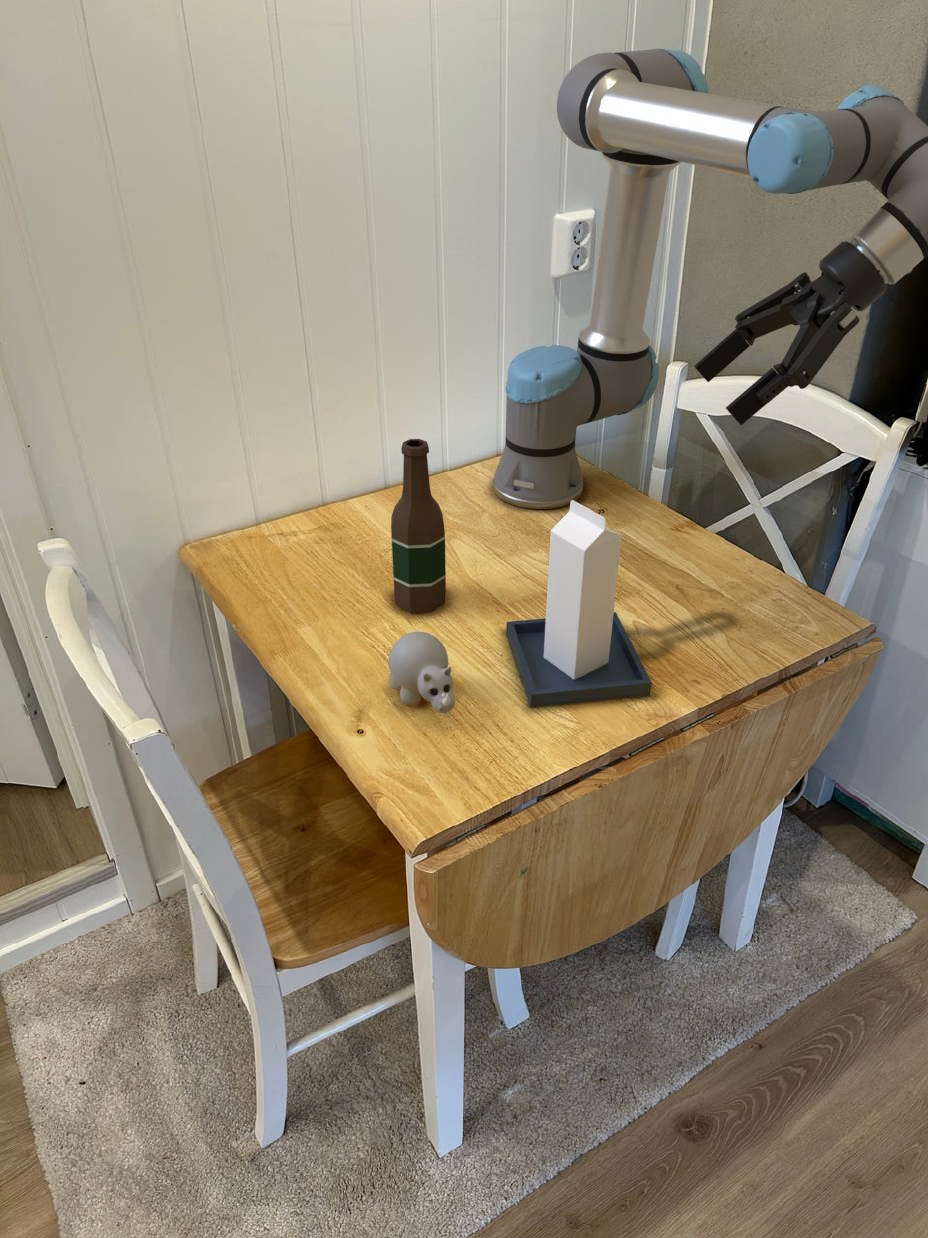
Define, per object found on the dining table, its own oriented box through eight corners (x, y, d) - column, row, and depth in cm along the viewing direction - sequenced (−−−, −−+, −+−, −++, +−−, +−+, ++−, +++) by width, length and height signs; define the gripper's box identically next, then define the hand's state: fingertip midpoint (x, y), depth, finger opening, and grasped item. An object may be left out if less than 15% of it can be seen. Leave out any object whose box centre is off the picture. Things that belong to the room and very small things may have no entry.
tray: (506, 634, 129) (506, 621, 128) (614, 624, 131) (615, 611, 129) (530, 708, 116) (531, 694, 115) (650, 695, 118) (652, 682, 117)
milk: (574, 681, 120) (586, 527, 107) (542, 657, 124) (550, 506, 111) (609, 663, 123) (625, 511, 110) (577, 640, 127) (589, 491, 114)
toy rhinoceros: (418, 742, 111) (416, 685, 106) (381, 683, 120) (378, 628, 115) (474, 725, 113) (474, 668, 109) (434, 669, 122) (433, 614, 118)
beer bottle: (454, 589, 138) (453, 434, 124) (436, 619, 132) (433, 459, 118) (404, 581, 140) (397, 427, 126) (384, 609, 134) (375, 450, 120)
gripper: (936, 320, 99) (768, 458, 106) (841, 258, 119) (706, 377, 127) (899, 268, 95) (728, 414, 103) (809, 213, 116) (671, 339, 124)
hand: (716, 394), depth 115 cm, fingers open, 13 cm apart
